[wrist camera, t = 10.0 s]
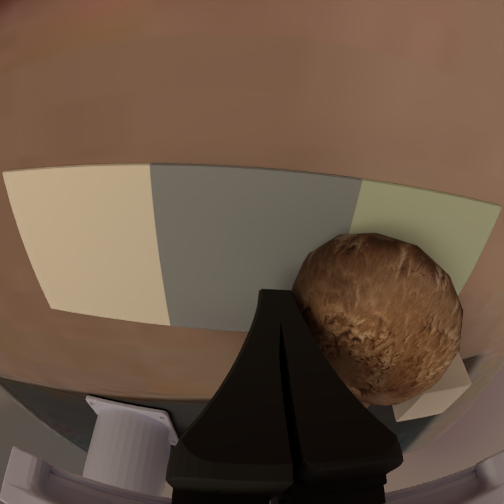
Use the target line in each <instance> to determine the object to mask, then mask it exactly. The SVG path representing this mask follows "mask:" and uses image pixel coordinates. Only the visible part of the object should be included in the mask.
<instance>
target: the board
mask: <svg viewBox="0 0 504 504" xmlns="http://www.w3.org/2000/svg"><path fill="white" fill-rule="evenodd" d="M3 177H4V181H5V185H6V189H7V192H8V196H9V200H10V203H11V207H12V210H13V213H14V216H15V220H16V223H17V226H18V229H19V232H20V235H21V238H22V240H23V243H24V246H25V249H26V251H27V254H28V256H29V259H30V262H31V264H32V267H33V269H34V271H35V274H36V276H37V279H38V281H39V283H40V286H41V288H42V290H43V292H44V294H45V297H46V299H47V301H48V303H49V305H50V307H51V308H52V309H58V310H63V311H69V312H75V313H81V314H87V315H93V316H99V317H106V318H113V319H120V320H127V321H135V322H143V323H151V324H160V325H169V326H178V327H189V328H200V329H211V330H224V331H239V332H249V330H250V327H251V324H252V321H253V319H254V315H255V312H256V308H257V303H258V294H259V290H261V289H276V290H291V289H292V286H293V284H294V281H295V279H296V277H297V275H298V273H299V270H300V268H301V266H302V264H303V262H304V260H305V258H306V257H307V255H308V254H309V253H310V252H312V251H313V250H315V249H317V248H318V247H320V246H321V245H323V244H325V243H326V242H328V241H330V240H331V239H333V238H335V237H336V236H338V235H342V234H360V233H379V234H382V235H385V236H388V237H392V238H395V239H398V240H402V241H405V242H408V243H411V244H414V245H417V246H418V247H420V248H421V249H422V250H423V251H424V252H425V253H426V254H427V255H428V256H429V257H431V258H432V259H433V260H434V261H435V262H436V263H437V264H438V265H439V266H440V267H441V268H442V269H443V270H444V271H445V272H447V273H448V274H449V275H450V277H451V280H452V282H453V285H454V288H455V290H456V293H457V295H459V294H460V292H461V290H462V288H463V287H464V285H465V283H466V281H467V280H468V278H469V276H470V274H471V272H472V270H473V268H474V266H475V265H476V263H477V261H478V259H479V257H480V255H481V253H482V251H483V248H484V246H485V244H486V242H487V240H488V238H489V236H490V234H491V231H492V229H493V227H494V225H495V222H496V220H497V217H498V215H499V213H500V210H501V208H502V207H501V206H500V205H497V204H493V203H489V202H485V201H481V200H476V199H472V198H467V197H463V196H458V195H454V194H449V193H444V192H439V191H434V190H429V189H423V188H418V187H412V186H407V185H401V184H395V183H389V182H382V181H376V180H369V179H362V178H355V177H347V176H339V175H331V174H323V173H314V172H304V171H294V170H283V169H271V168H258V167H244V166H226V165H204V164H162V163H133V164H92V165H71V166H55V167H41V168H29V169H19V170H9V171H4V172H3Z"/></svg>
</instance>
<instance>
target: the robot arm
mask: <svg viewBox="0 0 504 504" xmlns="http://www.w3.org/2000/svg"><path fill="white" fill-rule="evenodd" d="M86 401H87V402H88V403H89V405H90V406H91V407H92V408H93V410H94V411H95V412H96V413H97V415H98V417H97V421H96V424H95V428H94V432H93V436H92V439H91V443H90V447H89V451H88V455H87V460H86V464H85V468H84V473H83V477H82V476H79V475H76V474H73V473H71V472H68V471H65V470H63V469H60V468H57V467H55V466H52V465H50V464H49V463H48V462H47V461H45V460H43V459H41V458H40V457H38V456H35V455H33V454H31V453H29V452H26V451H24V450H22V449H20V448H18V447H16V446H14V447H13V448H12V452H11V455H10V459H9V462H8V466H7V469H6V473H5V477H4V481H3V486H2V489H1V494H0V500H1V501H3V502H4V503H6V504H270V503H271V504H504V450H503V451H501V452H499V453H497V454H494V455H492V456H490V457H488V458H486V459H484V460H483V461H480V462H479V463H477V464H476V465H475V466H472V467H470V468H467V469H465V470H462V471H460V472H457V473H454V474H451V475H448V476H446V477H442V478H439V479H437V480H433V481H430V482H427V483H423V484H420V485H416V486H412V487H409V488H405V489H401V490H397V491H393V492H388V493H385V492H384V484H386V483H387V479H386V474H387V473H389V472H390V471H392V470H394V469H396V468H397V467H399V466H400V465H401V464H402V462H403V455H402V450H401V447H400V444H399V441H398V438H397V435H395V434H394V433H393V432H392V431H391V430H389V429H388V428H387V427H386V426H385V425H384V424H383V423H381V422H380V421H379V420H378V419H377V418H376V417H375V416H374V415H373V414H372V413H371V412H370V411H369V410H368V409H367V408H366V407H365V406H364V405H363V404H362V403H361V402H360V401H359V400H358V398H357V397H356V396H355V395H354V394H353V393H352V392H351V391H350V389H349V388H348V387H347V386H346V385H345V383H344V382H343V381H342V379H341V378H340V377H339V376H338V374H337V373H336V371H335V370H334V369H333V367H332V366H331V364H330V363H329V361H328V360H327V358H326V357H325V355H324V354H323V352H322V350H321V349H320V347H319V346H318V344H317V342H316V340H315V339H314V337H313V335H312V333H311V331H310V329H309V327H308V326H307V324H306V322H305V320H304V317H303V315H302V313H301V311H300V309H299V306H298V304H297V302H296V299H295V296H294V293H293V292H292V291H291V290H276V289H261V290H259V294H258V303H257V308H256V312H255V315H254V319H253V321H252V324H251V327H250V330H249V332H248V335H247V337H246V339H245V342H244V344H243V346H242V348H241V350H240V353H239V355H238V357H237V358H236V360H235V362H234V364H233V366H232V368H231V369H230V371H229V373H228V375H227V376H226V378H225V379H224V381H223V383H222V384H221V386H220V387H219V389H218V390H217V392H216V393H215V395H214V396H213V398H212V399H211V400H210V402H209V403H208V404H207V406H206V407H205V408H204V410H203V411H202V412H201V413H200V415H199V416H198V417H197V418H196V420H195V421H194V422H193V423H192V424H191V425H190V426H189V427H188V429H187V430H186V431H185V432H184V433H183V434H182V435H181V437H180V438H179V439H178V436H177V434H176V432H175V429H174V427H173V425H172V422H171V420H170V417H169V415H168V413H167V412H166V411H164V410H158V409H152V408H146V407H140V406H135V405H129V404H124V403H119V402H115V401H110V400H106V399H101V398H97V397H93V396H86ZM171 445H176V446H175V448H174V450H173V452H172V454H171V456H170V458H169V454H170V447H171ZM166 481H167V483H168V484H170V486H172V487H173V493H172V498H165V497H160V496H161V495H162V493H163V492H164V489H165V482H166ZM270 500H271V502H270Z"/></svg>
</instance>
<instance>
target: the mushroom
mask: <svg viewBox="0 0 504 504" xmlns="http://www.w3.org/2000/svg"><path fill="white" fill-rule="evenodd" d="M291 291H292V292H293V293H294V296H295V299H296V302H297V304H298V306H299V309H300V311H301V313H302V315H303V317H304V320H305V322H306V324H307V326H308V327H309V329H310V331H311V333H312V335H313V337H314V339H315V340H316V342H317V344H318V346H319V347H320V349H321V350H322V352H323V354H324V355H325V357H326V358H327V360H328V361H329V363H330V364H331V366H332V367H333V369H334V370H335V371H336V373H337V374H338V376H339V377H340V378H341V379H342V381H343V382H344V383H345V385H346V386H347V387H348V388H349V389H350V391H351V392H352V393H353V394H354V395H355V396H356V397H357V398H358V400H359V401H361V402H364V403H369V404H376V405H383V406H385V405H397V404H400V403H403V402H405V401H407V400H409V399H411V398H413V397H415V396H417V395H419V394H421V393H423V392H425V391H426V390H428V389H430V388H432V387H433V386H434V385H435V384H436V383H437V382H438V381H439V380H440V378H441V377H442V376H443V374H444V373H445V371H446V370H447V368H448V367H449V366H450V364H451V363H452V361H453V360H454V358H455V356H456V355H457V353H458V352H459V348H460V337H461V328H462V318H463V309H462V306H461V304H460V301H459V298H458V295H457V293H456V290H455V288H454V285H453V282H452V280H451V277H450V275H449V274H448V273H447V272H445V271H444V270H443V269H442V268H441V267H440V266H439V265H438V264H437V263H436V262H435V261H434V260H433V259H432V258H431V257H429V256H428V255H427V254H426V253H425V252H424V251H423V250H422V249H421V248H420V247H418V246H417V245H414V244H411V243H408V242H405V241H402V240H398V239H395V238H392V237H388V236H385V235H382V234H379V233H360V234H342V235H338V236H336V237H335V238H333V239H331V240H330V241H328V242H326V243H325V244H323V245H321V246H320V247H318V248H317V249H315V250H313V251H312V252H310V253H309V254H308V255H307V257H306V258H305V260H304V262H303V264H302V266H301V268H300V270H299V273H298V275H297V277H296V279H295V281H294V284H293V286H292V289H291Z"/></svg>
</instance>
